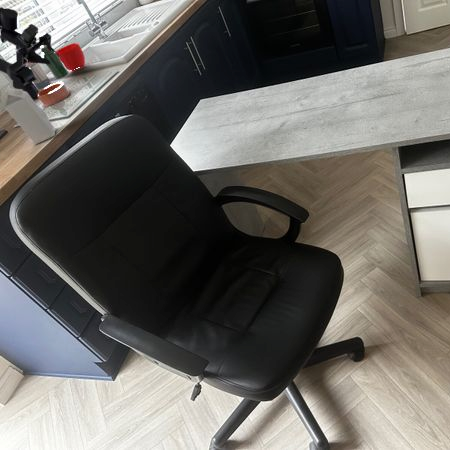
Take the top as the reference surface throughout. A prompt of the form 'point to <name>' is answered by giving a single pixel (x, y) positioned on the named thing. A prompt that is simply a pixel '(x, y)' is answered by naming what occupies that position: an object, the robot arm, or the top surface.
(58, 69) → the green bottle
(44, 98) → the pot
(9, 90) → the milk carton
